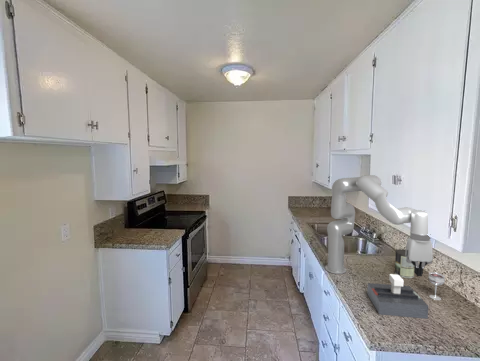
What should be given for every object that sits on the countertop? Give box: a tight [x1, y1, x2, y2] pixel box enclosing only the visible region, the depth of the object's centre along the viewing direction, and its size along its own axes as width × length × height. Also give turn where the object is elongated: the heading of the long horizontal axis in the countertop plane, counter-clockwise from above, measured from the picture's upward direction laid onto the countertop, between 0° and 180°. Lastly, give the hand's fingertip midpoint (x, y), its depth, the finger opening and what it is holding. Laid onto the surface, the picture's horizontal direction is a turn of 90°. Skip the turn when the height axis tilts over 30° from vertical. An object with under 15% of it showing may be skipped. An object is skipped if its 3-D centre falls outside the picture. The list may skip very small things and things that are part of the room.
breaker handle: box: [388, 273, 405, 294], centre depth 126 cm, size 6×4×8 cm, turn 170°
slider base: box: [366, 282, 429, 320], centre depth 127 cm, size 18×20×7 cm
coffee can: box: [394, 248, 415, 279], centre depth 159 cm, size 10×10×14 cm
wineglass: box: [427, 271, 446, 301], centre depth 133 cm, size 7×7×12 cm
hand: (418, 275), depth 124 cm, fingers closed
